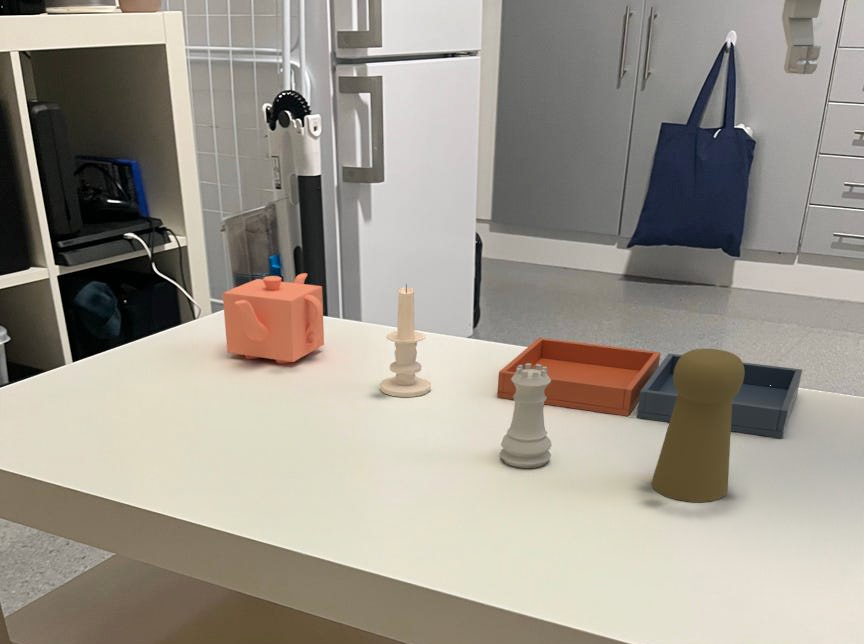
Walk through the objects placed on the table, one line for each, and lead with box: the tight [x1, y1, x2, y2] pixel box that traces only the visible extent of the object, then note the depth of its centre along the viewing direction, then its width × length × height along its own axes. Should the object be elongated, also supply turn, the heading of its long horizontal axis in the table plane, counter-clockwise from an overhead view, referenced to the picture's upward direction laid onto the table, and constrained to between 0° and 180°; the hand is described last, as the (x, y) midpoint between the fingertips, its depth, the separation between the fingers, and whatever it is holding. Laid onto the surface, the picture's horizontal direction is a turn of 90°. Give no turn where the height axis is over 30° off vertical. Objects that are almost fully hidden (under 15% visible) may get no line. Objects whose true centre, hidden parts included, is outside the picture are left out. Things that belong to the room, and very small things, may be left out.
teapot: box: [222, 272, 325, 364], centre depth 112 cm, size 12×15×8 cm
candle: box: [379, 283, 432, 398], centre depth 101 cm, size 5×5×10 cm
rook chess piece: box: [499, 364, 552, 469], centre depth 85 cm, size 4×4×8 cm
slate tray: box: [636, 353, 803, 439], centre depth 98 cm, size 13×13×3 cm
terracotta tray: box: [497, 337, 661, 417], centre depth 103 cm, size 13×13×3 cm
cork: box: [650, 348, 745, 503], centre depth 80 cm, size 6×6×11 cm
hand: (841, 77), depth 71 cm, fingers open, 8 cm apart
